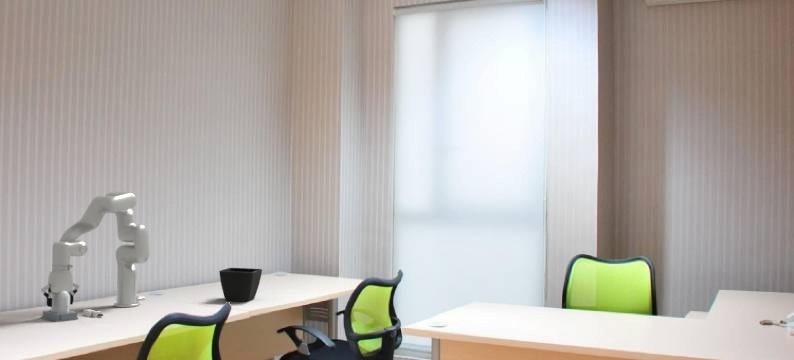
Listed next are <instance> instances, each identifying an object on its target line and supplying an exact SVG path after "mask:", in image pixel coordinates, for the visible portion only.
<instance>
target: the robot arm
mask: <svg viewBox="0 0 794 360" xmlns="http://www.w3.org/2000/svg"><path fill="white" fill-rule="evenodd" d="M137 202H138V199H137V196H136V195H135V194H134V193H132V192H125V191H124V192H122V191H111V192H108V193H106V194H105V195H97V196H95V197H94V198H93V199H91V202H90V203H89V205H88V207H87V208H86V210H85V211H84V214H83V215H82V217H81V218H80V220H78V221H76V222H75V223H73V225H71V226H70V227H69V228H67V229H66V230H65V231H64V233H63V234H62V235H61V236H60V239H59V241H55V242H53V243H52V251H51V252H52V254H51V255H52V257H51V271H49V274H48V279H47V285H45V286H44V287H42V288H41V289H40V291H41V292H42V294H43V296H44V297H45V298H46V306H47V307H48V308H49V307H50V308H51V307H52V295H53V294H57V293H60V292H62V291H66V292H68V293H69V294H70V306H71V305H73V303H74V296H75V295H76V293H77V292H78V290H79V288H80V285H78V284H76V283H74V281H73V274H72V271H71V269H73V265H72V264H71V257H78V258H79V257H82V256H85V255H86V254H87V252H88V249H89V248H88V245H87V243H86V242H84V241H82V240H78V238H80V237H81V236H82V235H85V234H87V233H90V232H92V231H95V230H96V229H97V228H98V227H99V225H100V223H101V222H102V220H103V218H104V217H105V214H115V216H116V217H115V218H116V226H117V227H116V228H117V237H118V240H119V241H121V242H123V243H133V244H121V245H119V246H118V247H117V248H116V250H115V259H116V265H117V272H116V273H117V274H116V275H117V277H116V278H117V280H116V302H114V303H113V307H115V308H133V307H139V306H140V301H145V300H146V297H145V296H138V295H137V293H138V292H137V291H138V290H137V285H138V283H137V282H138V270H137V266H136V265H135V264H140V265H141V264H146V263H147V262H148V260H149V258H150V252H151V251H150V234H149V230H148V229H147V227H146V226H145V225H144V224H141V223H140V224H139V223H136V222H135V214H134V211H133V208H135V206H137ZM73 288H74V289H73Z"/></svg>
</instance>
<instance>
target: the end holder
mask: <svg viewBox="0 0 794 360" xmlns="http://www.w3.org/2000/svg"><path fill="white" fill-rule="evenodd" d="M43 318H44V319H45V320H47V321H51V322H54V323H55V322H56V323H61V322H68V321H73V320H74V321H76V320H79V317H78V312H77V311H73V310H70V313H64V314H58V313H54V312H51V309H48V310H47V309H46V310H43V311H42V315H41V319H43ZM44 319H43V320H44Z"/></svg>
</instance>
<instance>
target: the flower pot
mask: <svg viewBox="0 0 794 360" xmlns="http://www.w3.org/2000/svg"><path fill="white" fill-rule="evenodd" d="M262 273H263V269H262V268H261V269H260V268H247V267H243V268H242V267H228V268H224V269H221V270H219V280H220V284H221V286H220V287H221V290H222V294H223V297H224V300H225V301H228V302H245V303H247V302H250V301H252V300H255V298H256V295H257V292H258V289H259V286H260V283H261V282H260V281H261V277H262Z"/></svg>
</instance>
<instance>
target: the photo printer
mask: <svg viewBox="0 0 794 360" xmlns="http://www.w3.org/2000/svg"><path fill="white" fill-rule="evenodd" d="M51 298H52V307H50V310H51V312H54V313H58V314H64V313H70V311H71V304H70V294H69V293H68V292H66V291H62V292H60V293H57V294H53V295H52V297H51Z"/></svg>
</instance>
